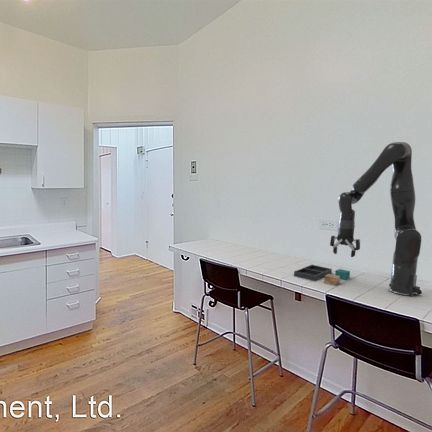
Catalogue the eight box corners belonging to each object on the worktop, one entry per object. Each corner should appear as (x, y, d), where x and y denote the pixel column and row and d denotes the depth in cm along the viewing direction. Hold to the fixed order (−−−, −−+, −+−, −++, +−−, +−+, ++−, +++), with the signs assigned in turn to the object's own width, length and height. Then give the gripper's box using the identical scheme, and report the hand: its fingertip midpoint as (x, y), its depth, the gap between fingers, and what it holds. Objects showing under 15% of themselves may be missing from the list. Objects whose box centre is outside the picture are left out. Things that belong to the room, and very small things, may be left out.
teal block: (349, 277, 173) (350, 271, 172) (345, 279, 170) (346, 273, 169) (338, 275, 177) (339, 268, 177) (334, 277, 174) (335, 270, 174)
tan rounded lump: (339, 283, 165) (340, 276, 164) (335, 285, 161) (335, 278, 161) (328, 280, 169) (329, 273, 168) (324, 282, 166) (324, 275, 165)
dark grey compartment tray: (331, 273, 182) (331, 268, 181) (314, 280, 168) (314, 276, 168) (311, 268, 191) (311, 264, 191) (293, 275, 178) (294, 271, 177)
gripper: (329, 226, 173) (327, 253, 175) (358, 229, 162) (355, 259, 164) (335, 225, 178) (332, 251, 180) (363, 228, 166) (360, 256, 168)
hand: (343, 255), depth 172 cm, fingers open, 8 cm apart
